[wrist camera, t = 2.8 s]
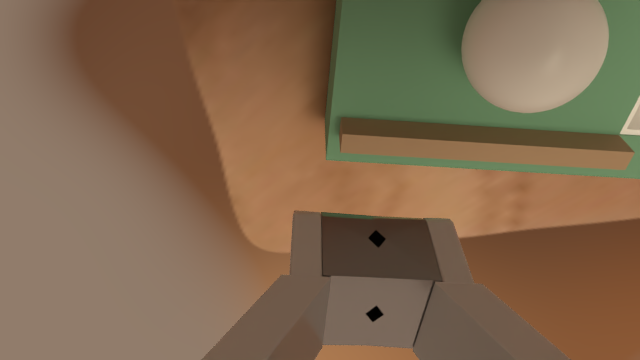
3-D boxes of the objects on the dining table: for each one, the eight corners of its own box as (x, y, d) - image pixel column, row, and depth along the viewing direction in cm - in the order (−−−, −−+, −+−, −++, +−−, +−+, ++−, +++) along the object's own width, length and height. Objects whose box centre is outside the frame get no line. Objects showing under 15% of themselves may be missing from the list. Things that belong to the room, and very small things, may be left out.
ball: (466, -48, 18) (507, -9, 14) (593, -38, 19) (668, 4, 15) (436, 73, 22) (464, 133, 18) (547, 81, 22) (598, 142, 18)
